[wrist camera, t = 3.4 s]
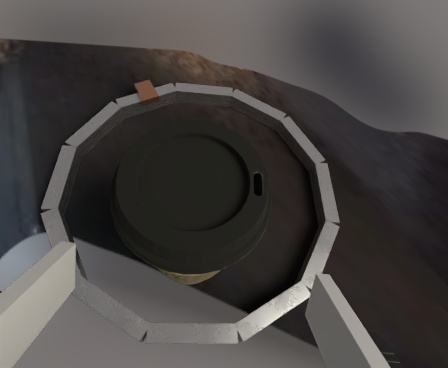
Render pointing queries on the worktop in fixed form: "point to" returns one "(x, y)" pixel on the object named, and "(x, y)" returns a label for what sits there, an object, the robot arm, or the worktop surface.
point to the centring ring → (204, 95)
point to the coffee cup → (191, 199)
